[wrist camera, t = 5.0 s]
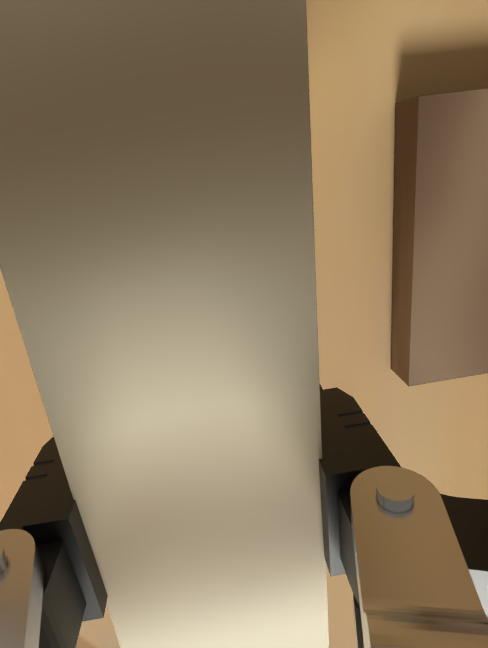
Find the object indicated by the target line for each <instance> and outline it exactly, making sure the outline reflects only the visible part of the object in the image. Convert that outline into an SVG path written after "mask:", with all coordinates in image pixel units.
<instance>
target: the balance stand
mask: <svg viewBox="0 0 488 648" xmlns="http://www.w3.org/2000/svg"><path fill="white" fill-rule="evenodd" d="M391 369H392V370H393V371H394V372H395V373H396V374H397V375H398V376H399V377H400V378H401V379H402V380H403V381H404V382H405V383H406V384H407V385H408V386H414V385H420V384H426V383H432V382H438V381H444V380H450V379H455V378H461V377H467V376H473V375H479V374H485V373H488V88H487V89H479V90H470V91H461V92H452V93H444V94H435V95H426V96H418V97H415V98H412V99H409V100H406V101H403V102H400V103H397V104H396V114H395V173H394V232H393V291H392V350H391Z"/></svg>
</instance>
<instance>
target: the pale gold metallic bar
mask: <svg viewBox="0 0 488 648" xmlns="http://www.w3.org/2000/svg"><path fill="white" fill-rule="evenodd" d="M0 268H1V272H2V275H3V278H4V281H5V284H6V287H7V291H8V294H9V297H10V300H11V303H12V306H13V309H14V313H15V316H16V319H17V322H18V325H19V328H20V332H21V335H22V338H23V341H24V344H25V347H26V351H27V354H28V357H29V360H30V363H31V366H32V370H33V373H34V376H35V379H36V382H37V385H38V389H39V392H40V395H41V398H42V401H43V404H44V407H45V411H46V414H47V417H48V420H49V423H50V426H51V430H52V433H53V436H54V439H55V442H56V445H57V449H58V452H59V455H60V458H61V461H62V464H63V468H64V471H65V474H66V477H67V480H68V483H69V487H70V490H71V493H72V496H73V499H74V500H76V503H77V506H78V509H79V512H80V515H81V518H82V521H83V524H84V527H85V530H86V533H87V536H88V539H89V542H90V545H91V548H92V550H93V553H94V556H95V559H96V562H97V565H98V568H99V571H100V574H101V577H102V580H103V583H104V586H105V589H106V592H107V595H108V598H107V607H108V610H109V613H110V616H111V619H112V622H113V626H114V629H115V632H116V635H117V638H118V641H119V645H120V648H329V637H328V609H327V581H326V560H325V557H324V543H323V526H322V509H321V492H320V475H319V459H322V440H321V412H320V384H319V355H318V327H317V299H316V271H315V243H314V215H313V187H312V158H311V130H310V102H309V74H308V46H307V18H306V0H0Z"/></svg>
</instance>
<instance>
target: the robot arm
mask: <svg viewBox="0 0 488 648" xmlns="http://www.w3.org/2000/svg"><path fill="white" fill-rule="evenodd" d="M320 412H321V440H322V459H319V475H320V492H321V509H322V526H323V543H324V557H325V560H326V563H327V566H328V569H329V572H330V576H336V575H341V574H346V575H347V578H348V580H349V583H350V586H351V588H352V591H353V612H354V623H355V635H356V646H357V648H488V500H482V499H470V498H459V497H452V496H447V495H443V494H440V493H439V491H438V490H437V489H436V487H435V486H434V485H433V484H432V483H431V482H430V481H429V480H427V479H426V478H425V477H423V476H422V475H420V474H418V473H416V472H414V471H411V470H409V469H405V468H402V467H401V466H400V465H399V463H398V462H397V460H396V459H395V457H394V456H393V455H392V453H391V452H390V450H389V449H388V447H387V446H386V444H385V443H384V441H383V440H382V439H381V437H380V436H379V434H378V433H377V431H376V430H375V428H374V427H373V425H371V424H370V421H369V420H368V418H367V417H366V415H365V414H363V412H362V410H361V408H360V407H359V405H358V404H357V402H356V401H355V399H354V398H353V397H352V396H350V395H348V394H347V393H345V392H343V391H342V390H340V389H338V388H331V389H325V390H323V389H322V387H321V385H320ZM25 478H26V481H23V483H22V485H21V486H20V488H19V490H18V492H17V494H16V495H15V497H14V499H13V501H12V503H11V504H10V506H9V508H8V510H7V511H6V513H5V515H4V517H3V519H2V520H1V522H0V648H77V646H76V643H77V639H78V635H79V631H80V627H81V623H82V621H88V620H93V619H99V618H103V617H104V612H105V607H106V603H107V598H108V595H107V592H106V589H105V586H104V583H103V580H102V577H101V574H100V571H99V568H98V565H97V562H96V559H95V556H94V553H93V550H92V548H91V545H90V542H89V539H88V536H87V533H86V530H85V527H84V524H83V521H82V518H81V515H80V512H79V509H78V506H77V503H76V500H74V499H73V496H72V493H71V490H70V487H69V483H68V480H67V477H66V474H65V471H64V468H63V464H62V461H61V458H60V455H59V452H58V449H57V445H56V442H55V439H54V437H53V438H51V439H50V440H49V441H48V442H47V443H46V444H45V445H44V446H43V447H42V449H41V451H40V452H39V454H38V456H37V458H36V460H35V461H34V466H32V467H31V468H30V470H29V472H28V474H27V476H26V477H25Z"/></svg>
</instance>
